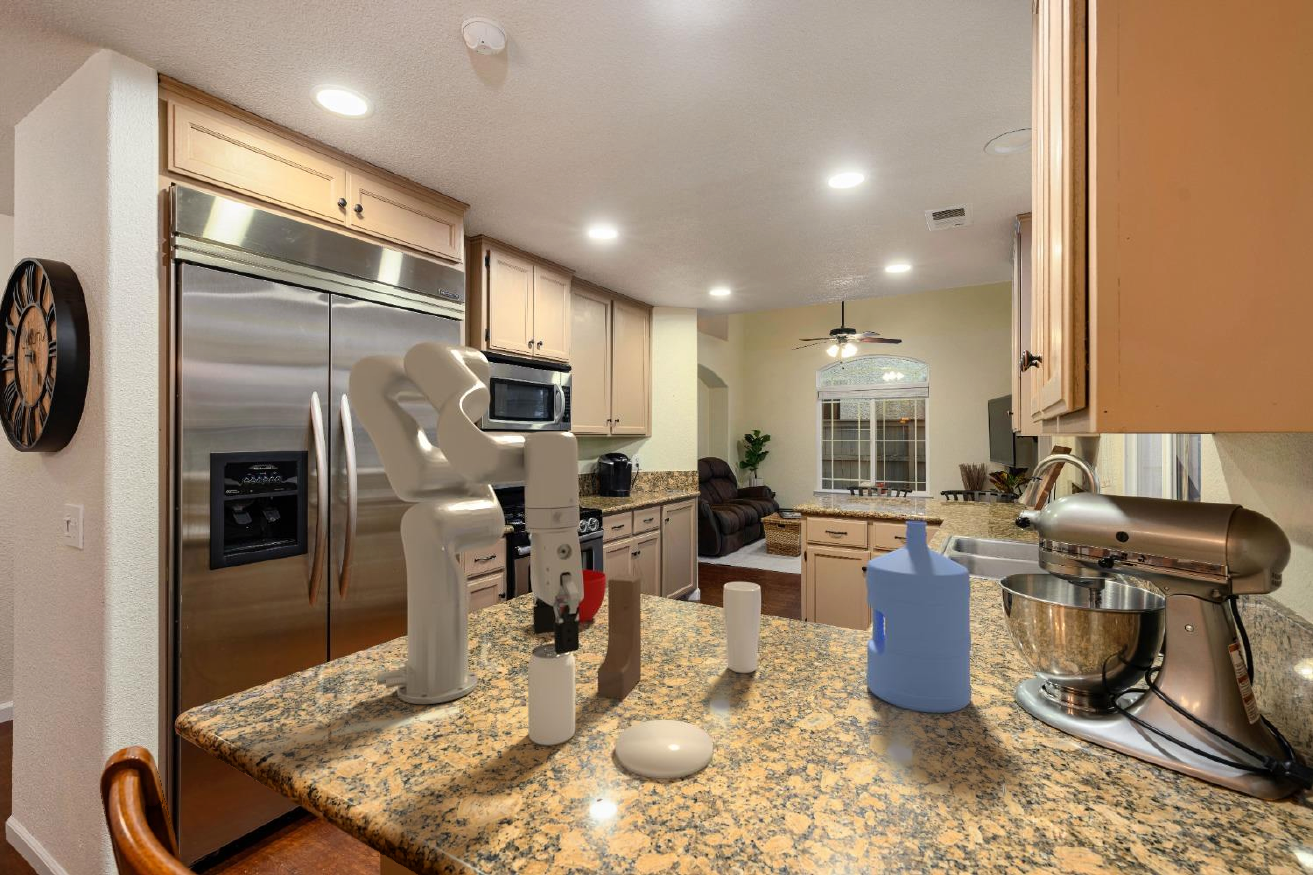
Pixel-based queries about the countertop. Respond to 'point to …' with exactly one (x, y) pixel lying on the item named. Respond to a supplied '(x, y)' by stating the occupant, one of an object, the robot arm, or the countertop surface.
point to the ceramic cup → (591, 594)
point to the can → (551, 696)
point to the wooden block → (622, 638)
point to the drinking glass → (742, 624)
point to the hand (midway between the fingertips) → (555, 641)
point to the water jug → (919, 627)
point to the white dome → (664, 749)
